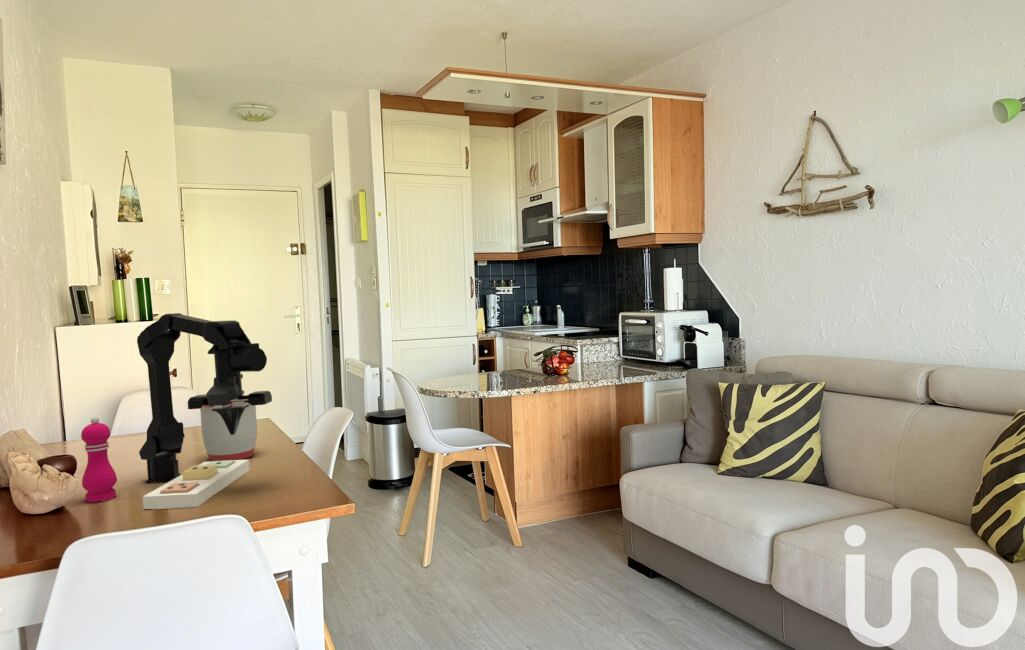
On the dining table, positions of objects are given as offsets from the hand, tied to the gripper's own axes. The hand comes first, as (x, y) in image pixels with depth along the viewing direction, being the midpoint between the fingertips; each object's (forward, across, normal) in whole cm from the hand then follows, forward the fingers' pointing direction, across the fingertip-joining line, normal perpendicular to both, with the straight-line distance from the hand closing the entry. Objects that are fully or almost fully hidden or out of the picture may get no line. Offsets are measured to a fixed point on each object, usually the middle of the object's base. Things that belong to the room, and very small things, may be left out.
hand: (233, 434), depth 170 cm
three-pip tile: (+12, -9, -10) cm, 18 cm away
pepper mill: (+13, -31, -4) cm, 34 cm away
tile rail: (+13, -9, +1) cm, 16 cm away
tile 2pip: (+10, -9, +1) cm, 14 cm away
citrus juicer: (+13, -14, +34) cm, 39 cm away
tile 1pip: (+12, -9, +12) cm, 19 cm away
